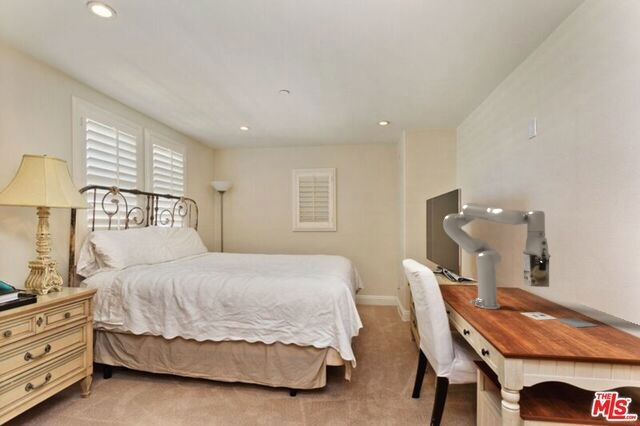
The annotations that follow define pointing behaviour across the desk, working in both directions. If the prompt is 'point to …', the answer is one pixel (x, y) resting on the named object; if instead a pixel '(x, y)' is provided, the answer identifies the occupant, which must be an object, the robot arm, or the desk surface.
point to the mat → (576, 322)
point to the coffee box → (535, 272)
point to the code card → (538, 316)
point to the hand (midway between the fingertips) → (536, 268)
